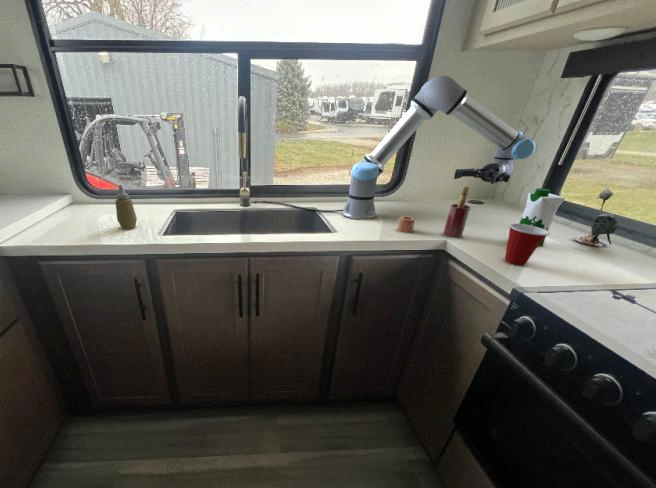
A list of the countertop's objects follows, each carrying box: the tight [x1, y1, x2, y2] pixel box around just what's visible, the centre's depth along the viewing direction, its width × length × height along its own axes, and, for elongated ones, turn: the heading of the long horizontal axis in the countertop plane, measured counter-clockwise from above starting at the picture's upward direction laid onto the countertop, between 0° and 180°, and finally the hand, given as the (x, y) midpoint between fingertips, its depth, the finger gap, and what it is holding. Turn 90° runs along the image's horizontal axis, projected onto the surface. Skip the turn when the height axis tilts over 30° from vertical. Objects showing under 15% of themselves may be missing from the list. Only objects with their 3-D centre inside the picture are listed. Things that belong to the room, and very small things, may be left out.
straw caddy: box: [397, 215, 416, 233], centre depth 141 cm, size 6×6×6 cm
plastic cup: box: [504, 222, 550, 266], centre depth 110 cm, size 11×11×12 cm
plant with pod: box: [573, 188, 618, 248], centre depth 123 cm, size 8×11×20 cm
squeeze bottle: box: [114, 184, 138, 230], centre depth 144 cm, size 8×8×18 cm
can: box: [442, 203, 472, 239], centre depth 134 cm, size 7×7×12 cm
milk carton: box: [518, 187, 566, 247], centre depth 124 cm, size 9×9×20 cm
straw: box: [457, 185, 471, 208], centre depth 132 cm, size 2×2×19 cm
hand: (473, 177), depth 133 cm, fingers open, 13 cm apart
